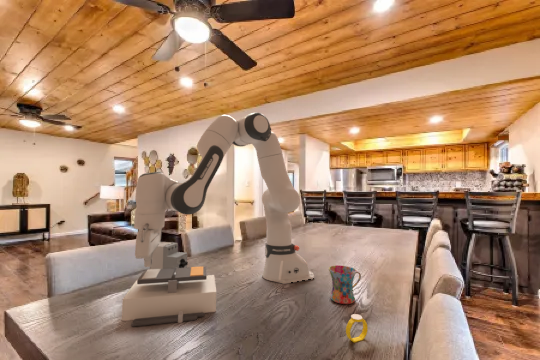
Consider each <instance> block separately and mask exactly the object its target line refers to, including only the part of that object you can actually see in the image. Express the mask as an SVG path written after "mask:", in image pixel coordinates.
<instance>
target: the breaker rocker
mask: <svg viewBox="0 0 540 360" xmlns="http://www.w3.org/2000/svg"><path fill="white" fill-rule="evenodd" d="M206 277H207V266H203V265H202V266H191V267H190V266H189V267H187V268H177V267H176V268H171V269H150V268H148V269H144V270H143V272H142V273H141V275H140V276H139V277H138V279H136V280H137V284H150V283H164V282H168V281H169V280H177V282H179V281H193V280H206Z"/></svg>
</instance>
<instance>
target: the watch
mask: <svg viewBox="0 0 540 360" xmlns="http://www.w3.org/2000/svg"><path fill="white" fill-rule="evenodd" d="M355 323H362V330H361V333H360V334H359V336H356V337H352V336H351V329H352V328H353V325H354V324H355ZM368 328H369V327H368V323H367V321H366V320H365V319H364V318H363V317H362V315H361V314H356V313H354V314H351V315H350V319H349V320H348V322H347V324H346V326H345V334H346V338H347V339H349V340H350V341H351V342H353V343H354V344H355V343H357V342H360V341H364V339H365V338H366V337H367V335H368V330H369V329H368Z"/></svg>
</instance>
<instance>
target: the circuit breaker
mask: <svg viewBox="0 0 540 360" xmlns="http://www.w3.org/2000/svg"><path fill="white" fill-rule="evenodd" d="M178 247H179V245H178V242H166V241H160V244H159V245H158V246H157V248H156V249H155V250H154V253H153V258H152V264H151V265H150V267H149V269H171V268H176V267H177V268H188V265H189V263H188V262H189V261H188V252H182V251H181V252H180V251H178V250H179V249H178Z"/></svg>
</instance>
